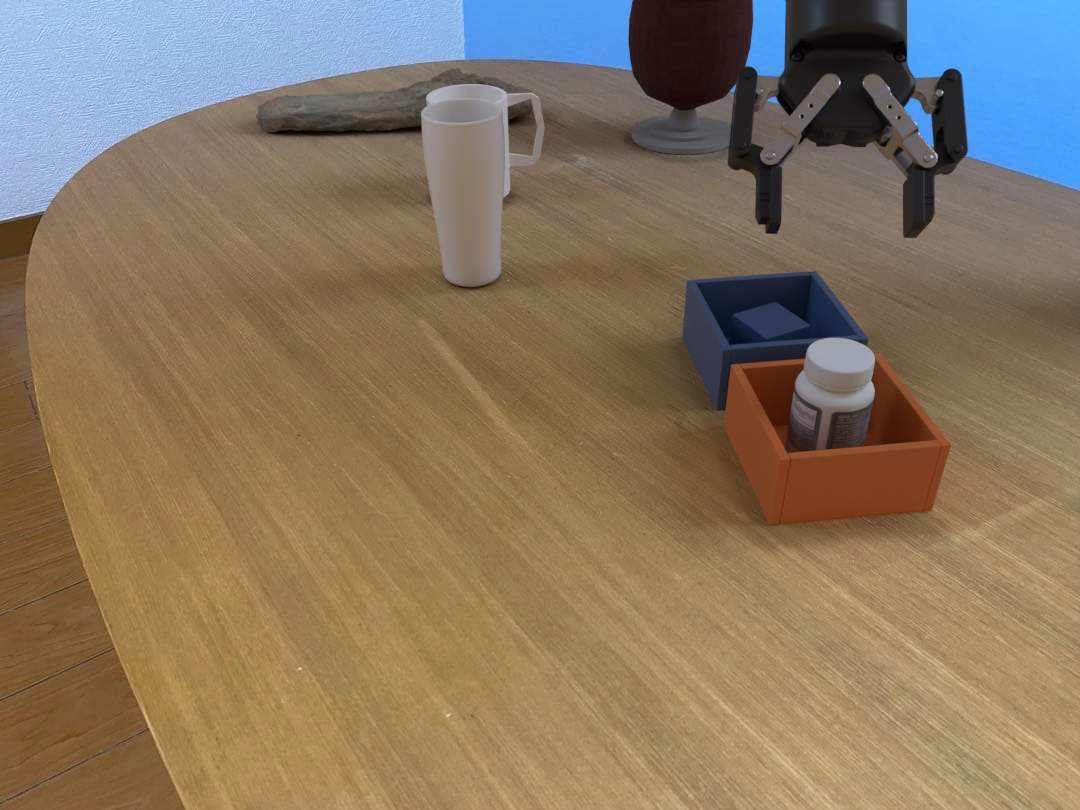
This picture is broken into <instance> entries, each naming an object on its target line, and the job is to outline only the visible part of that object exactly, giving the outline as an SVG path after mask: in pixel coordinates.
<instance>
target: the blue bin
mask: <svg viewBox="0 0 1080 810" xmlns="http://www.w3.org/2000/svg"><path fill="white" fill-rule="evenodd" d="M774 302H777V303H778V304H780V305H781V306H783V307H784V308H786V309H787V310H789V311H790V312H792V313H793V314H794V315H796V316H797V317H799V318H800V319H802V320H803V321H805V322H806V323H808V324H809V325H810V331H809V337H808V339H800V340H787V341H774V342H761V343H748V344H735V345H729V342H730V333H731V324H732V316H733V314H735V313H739V312H742V311H746V310H749V309H753V308H756V307H760V306H763V305H767V304H770V303H774ZM681 336H682V339H683V342H684V344H685V346H686V348H687V350H688V353H689V354H690V357H691V358H692V362H693V363H694V366H695V367H696V369H697V372H698V374H699V376H700V378H701V381H702V382H703V385H704V387H705V389H706V391H707V393H708V397H709V398H710V401H711V402H712V404H713V406H714V408H715V410H716V411H726V403H727V394H728V386H729V377H730V369H731V365H732V364H744V363H756V362H769V361H782V360H795V359H805V358H806V352H807V349H808V347H809V346H810V345H811V344H812V343H814V342H815V341H818V340H821V339H825V338H845V339H850V340H853V341H856V342H859V343H861V344H863V345H865V346H866V347H868V343H869V337H868V335H867V334H866V333H865V332H864V330H863V329H862V328H861V327H860V325H859V324H858V323H857V322H856V320H855V319H854V318H853V317H852V315H851V314H850V312H849V311H848V310H847V308H846V307H845V306H844V305H843V303H842V302H841V301H840V300H839V298H838V297H837V296H836V294H834V292H833V290H832V289H831V288H830V287H829V286H828V284H827V283H826V282H825V281H824V279H823V278H822V277H821V275H820V274H819V272H817V271H816V270H811V271H796V272H795V271H794V272H781V273H766V274H754V275H738V276H725V277H723V276H722V277H708V278H697V279H687V280H686V287H685V299H684V312H683V324H682V335H681Z"/></svg>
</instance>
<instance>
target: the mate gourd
mask: <svg viewBox="0 0 1080 810" xmlns="http://www.w3.org/2000/svg"><path fill="white" fill-rule="evenodd" d="M753 26H754V1H753V0H631V5H630V13H629V17H628V39H627V40H628V41H627V42H628V54H629V62H630V67H631V72H632V76H633V78H634V79H635V81H636V82H637V84H638V85H639V86H640V88H641V90H642V91H643V93H644V94H645V95H646V96H648V97H649V98H651V99H653V100H656V101H658V102H660V103H663V104H666V105H668V106H670V107H672V110H671V113H670V114H667V115H666V114H665V115H659V116H652V117H648V118H645V119H642V120H640V121H638V122H637V123H635V124H634V125H633V126H632V129H631V139H632V140H633V142H634V143H635V144H637V145H638V146H639V147H642V148H644V149H647V150H650V151H653V152H657V153H664V154H670V155H682V156H683V155H701V154H702V155H704V154H710V153H715V152H718V151H722V150H723V149H726V148H729V141H730V131H731V125H729V124H727V123H726V122H723V121H721V120H719V119H715V118H711V117H707V116H701V115H698V112H697V109H696V108H699V107H702V106H704V105H707V104H711V103H714V102H718V101H719V100H722V99H723V98H725V97H727V95H728V94H729V93H730V92H731V91H732V89H733V88H735V87H736V82H737V78H738V73H739V71H740V70H741V69H742V68H743V67H746V66H747V63H748V58H749V55H750V50H751V47H752V37H753V29H754V28H753Z"/></svg>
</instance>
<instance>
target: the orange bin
mask: <svg viewBox="0 0 1080 810" xmlns="http://www.w3.org/2000/svg"><path fill="white" fill-rule="evenodd" d="M873 354H874V356H875V365H874V370H873V376H872V379H871V381H872V383H873V386H874V390H875V395H874V400H873V405H872V409H871V414H870V418H869V423H868V428H867V432H866V437H865V441H864V446H862V447H851V448H839V449H828V450H816V451H805V452H793V453H788V454H787V452H786V450H785V446H786V439H787V432H788V426H789V419H790V413H791V407H792V400H793V394H794V387H795V382H796V379H797V377H798V375H799V374H800V373H801V372H802V371H803V370H804V362H805V359H795V360H782V361H769V362H756V363H744V364H732V365H731V369H730V377H729V386H728V394H727V403H726V410H724V411H725V412H724V420H723V428H724V430H725V432H726V435H727V436H728V438H729V441H730V443H731V445H732V447H733V450H734V451H735V454H736V456H737V458H738V460H739V463H740V464H741V466H742V469H743V472H744V473H745V476H746V477H747V480H748V482H749V484H750V486H751V489H752V491H753V493H754V494H755V497H756V499H757V501H758V504H759V506H760V508H761V510H762V513H763V514H764V517H765V518H766V521H767V523H768V525H769V526H770V527H771V526H781V525H782V526H783V525H792V524H802V523H803V524H804V523H813V522H824V521H833V520H843V519H844V520H845V519H856V518H857V519H858V518H865V517H866V518H867V517H876V516H889V515H898V514H911V513H919V512H920V513H921V512H932V511H933V508H934V506H935V505H934V504H935V502H936V498H937V495H938V491H939V488H940V485H941V481H942V478H943V474H944V471H945V468H946V464H947V461H948V458H949V454H950V452H951V449H952V444H951V443H950V442H949V440H948V439H947V438H946V436H945V435H944V434H943V432H942V430H940V429H939V427H938V426H937V424H936V423H935V422H934V420H933V419H932V418H931V417H930V415H928V413H927V412H926V411H925V409H924V408H923V407H922V406H921V404H920V403H919V401H918V400H917V399H916V397H915V396H914V395H913V393H912V392H911V391H910V390H909V389H908V387H907V386H906V384H904V382H903V381H902V380H901V378H900V377H899V376H898V375H897V373H896V372H895V370H894V369H893V368H892V367H891V365H890V364H889V363H888V362H887V360H886V359H885V358H884V356H883V355H882V354H881V352H873Z"/></svg>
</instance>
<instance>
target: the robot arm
mask: <svg viewBox="0 0 1080 810" xmlns="http://www.w3.org/2000/svg"><path fill="white" fill-rule="evenodd" d="M784 2H785V15H784V16H785V17H784V20H785V21H784V65H783V66H784V67H783V71H782V73H781V74H780V76H773V75H761V74H760V75H758V72H757V69H756V68H754V67H753V66H751V65H750V66H747V65H746V66H745V67H743V68H742V69H741V70H740V71H739V73H738V78H737V82H736V85H735V86H734V90H733V91H734V92H733V100H732V110H731V120H730V122H731V123H730V127H731V131H730V141H729V146H728V153H727V165H728V168H730V169H731V170H733V171H741V170H743V171H745V172H748V173H750V174H752V176H753V177H754V179H755V201H754V202H755V203H754V204H755V206H754V207H755V208H754V209H755V210H754V218H755V220H756V223H757V225H759V226H760V225H762V226H763V225H764V234H765V235H777V234H778V232H779V230H780V228H781V226H782V217H783V216H782V214H783V213H782V211H783V165H784V164H785V163H786V162H787V161H788V160H789V159H790V158H791V157H793V156H794V154H795V153H796V152H797V150H798V149H799V148H800V147H801V146H802V144H803V143H804V142H805V141H806V140H808V141H810V142H812V143H815V147H819V148H820V147H821V148H822V147H825V148H826V147H827V148H829V147H833V146H837V145H844V146H848V147H851V148H866V147H867V145H869V144H871V143H872V144H873V145H874V146H875V147H876V149H877V150H878V151H879V152H880V153H881V155H882V156H883V157H884V158H885V159H886V160H887V161H892V162H893V164H895V166H896V168H898V169H899V171H900V172H901V173H902V174H903V176H904V177H905V178H906V180H904V182H903V184H902V236H903V238H904V239H917V238H918V237H919V236H920V234H921V233H922V232H923V231H924V230H925V229H926V228H927V227H928V226H929V225H930V224H931V223H932V221H933V219H934V216H935V214H936V206H935V205H936V203H935V202H936V196H935V191H936V189H935V188H936V187H935V177H936V176H938V175H943V176H944V175H946V176H947V175H950V174H951V173H953V172H954V171H955V170H956V168H957V166H958V165H959V163H960V162H961V161H962V160H963V159H965V157H966V156H967V155H968V153H969V143H968V131H967V130H968V129H967V121H966V120H967V119H966V106H965V96H964V95H965V94H964V83H963V74H962V72H961V71H960V70H958V69H957V68H948V69H946V70H944V71H943V73H942V74H941V75H940V76H927V77H926V76H925V77H915V76H914V74H913V72H912V71H911V69H910V67H909V64H908V0H784ZM771 98H775V99H776V100H777V102H778V104H779V105H780V107H781V108H782V109H783V110H784V112H785V113H786V114H787V116H788V117H787V119H786V120H785V121H784V122H783V123H782V125H781V127H780V128H779V129H778V131H777V132H776V134H775V135H774V136H773V137H772V138H771V139H770V141H768V143H767V144H766V145H765V146H761V145H758V144H755V143H752V139H753V129H754V120H755V119H754V118H755V117H754V116H755V113H758V112H761V111H762V110H764V109H765V107H766V103H767V101H768V100H769V99H771ZM911 99H914V100H917V101H918V102H919V103H920V105H921V108H922V109H921V110H922V111H923V112H924V114H925V115H930V116H931V117H930V118H931V131H932V143H933V144H932V145H933V148H932V146H931V145H930V143H928V142H927V141H926V139H925V138H924V137H923V136H922V135H921V133H920V132H919V126H918V124H917V122H916V121H915V119H914V118H913V117H912V116H911V115H910V113H908V111H907V110H906V108H905V107H906V106H907V104H908V103H909V102H910V100H911Z"/></svg>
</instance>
